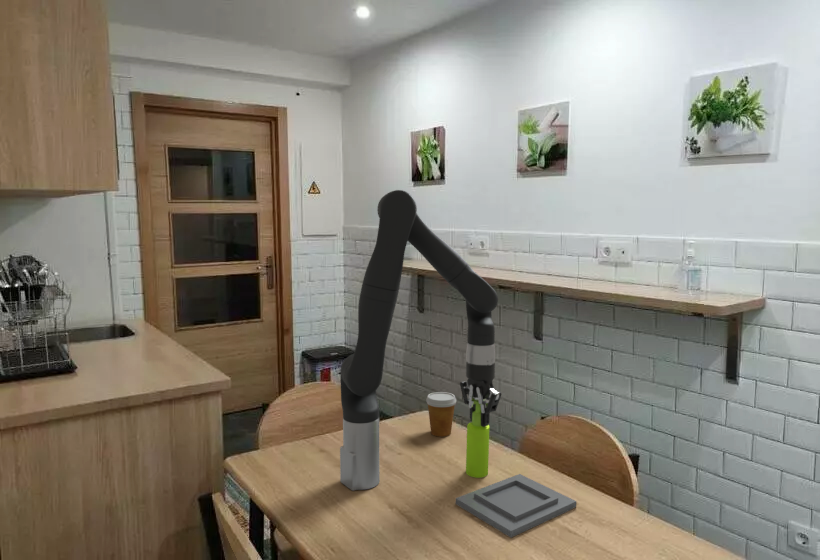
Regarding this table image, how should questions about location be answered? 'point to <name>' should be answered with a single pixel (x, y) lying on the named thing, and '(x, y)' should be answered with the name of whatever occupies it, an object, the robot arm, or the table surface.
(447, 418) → the disposable coffee cup
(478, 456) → the soap dispenser
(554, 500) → the stand
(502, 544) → the table surface
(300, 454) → the table surface
